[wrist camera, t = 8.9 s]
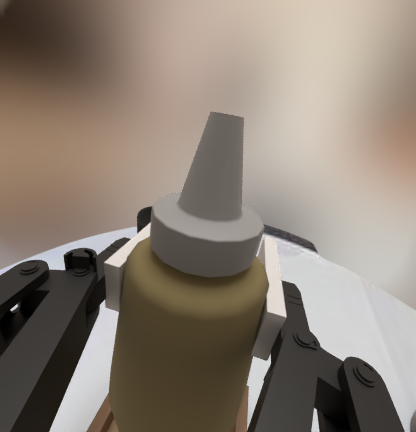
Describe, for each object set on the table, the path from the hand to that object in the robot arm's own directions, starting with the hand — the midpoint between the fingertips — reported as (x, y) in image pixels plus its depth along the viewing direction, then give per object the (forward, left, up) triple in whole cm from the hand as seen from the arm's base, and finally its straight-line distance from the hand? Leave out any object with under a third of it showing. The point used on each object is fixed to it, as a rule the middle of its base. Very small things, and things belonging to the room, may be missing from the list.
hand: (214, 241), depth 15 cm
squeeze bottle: (0, +5, -10) cm, 11 cm away
